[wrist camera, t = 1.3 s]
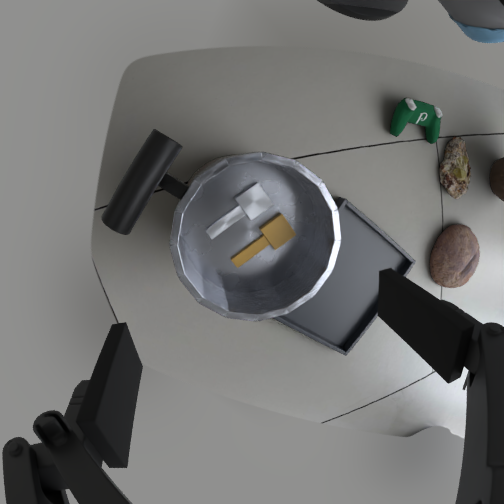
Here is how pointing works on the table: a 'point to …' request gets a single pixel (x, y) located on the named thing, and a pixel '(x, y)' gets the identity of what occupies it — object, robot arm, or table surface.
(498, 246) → the table surface
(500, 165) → the flower pot
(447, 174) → the mineral rock
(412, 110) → the gaming controller
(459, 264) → the decorative stone
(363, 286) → the tray
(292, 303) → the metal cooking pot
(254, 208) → the silver key
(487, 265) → the table surface
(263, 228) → the brass key
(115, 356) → the robot arm
